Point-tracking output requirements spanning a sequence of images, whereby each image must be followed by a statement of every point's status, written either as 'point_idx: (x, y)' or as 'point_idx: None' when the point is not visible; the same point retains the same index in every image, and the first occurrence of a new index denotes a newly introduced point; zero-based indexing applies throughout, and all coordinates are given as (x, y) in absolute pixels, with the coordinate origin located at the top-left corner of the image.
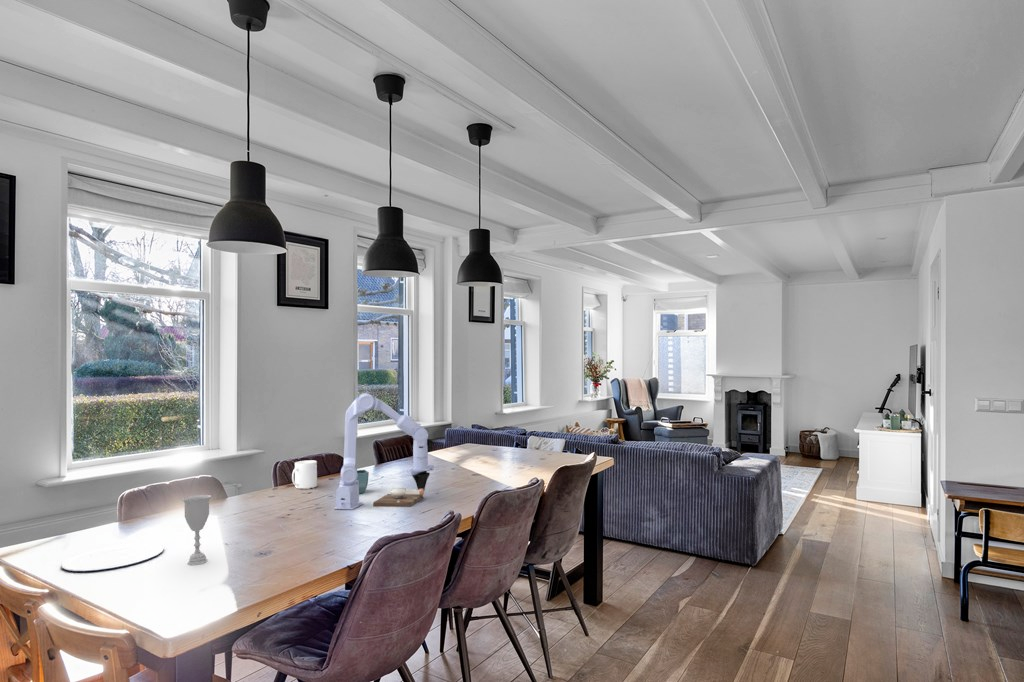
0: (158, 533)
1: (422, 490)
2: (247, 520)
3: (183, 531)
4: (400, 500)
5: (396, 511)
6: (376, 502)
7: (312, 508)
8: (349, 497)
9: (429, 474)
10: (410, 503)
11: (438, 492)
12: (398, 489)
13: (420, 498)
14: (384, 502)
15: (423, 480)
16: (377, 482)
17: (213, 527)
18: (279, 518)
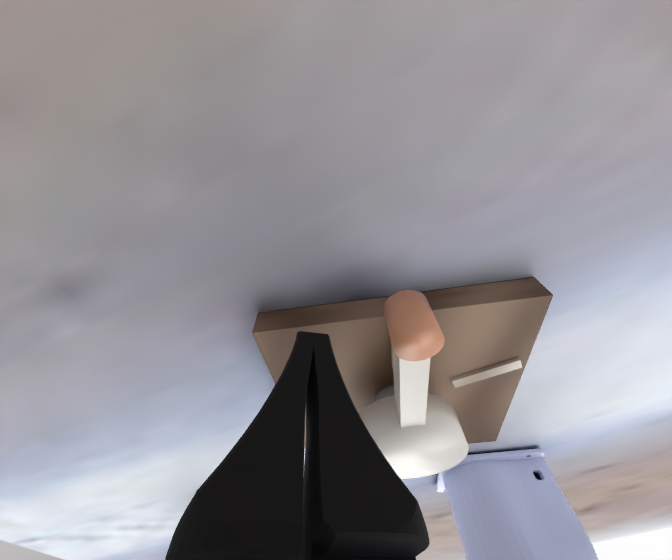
0: (651, 552)
1: (433, 320)
2: (597, 529)
3: (654, 544)
4: (463, 370)
5: (652, 298)
6: (498, 432)
7: None
8: (572, 511)
9: (203, 507)
10: (543, 291)
11: (39, 293)
12: (420, 455)
13: (312, 312)
14: (507, 409)
15: (343, 434)
16: (104, 526)
17: (642, 535)
18: (601, 509)
